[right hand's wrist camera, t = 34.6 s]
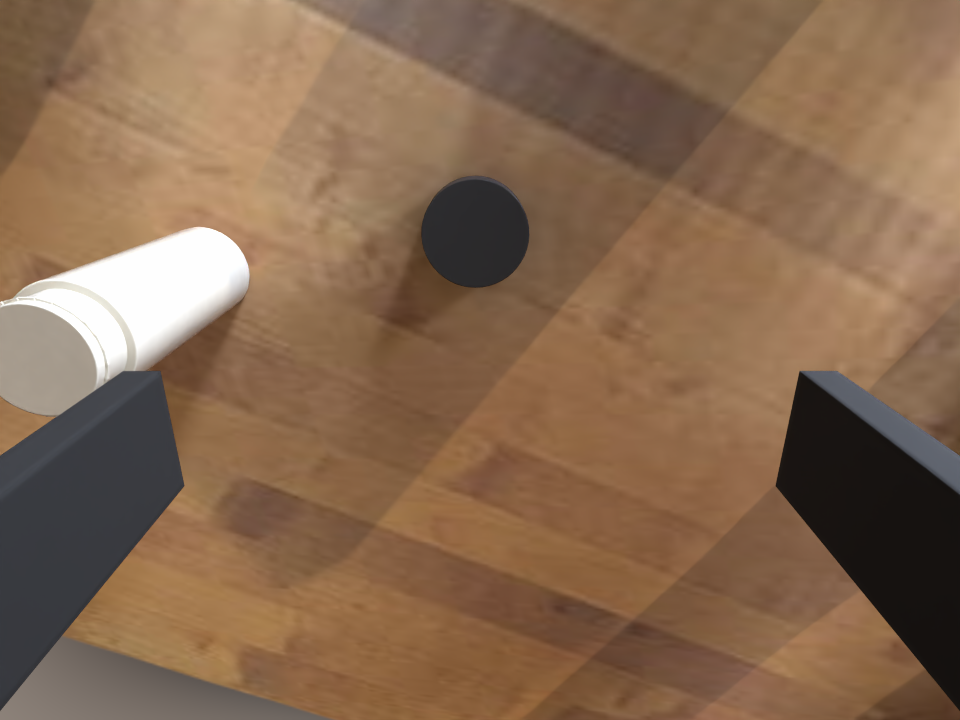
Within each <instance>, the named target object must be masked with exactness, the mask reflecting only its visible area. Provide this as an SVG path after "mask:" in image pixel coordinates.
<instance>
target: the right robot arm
mask: <svg viewBox="0 0 960 720" xmlns="http://www.w3.org/2000/svg"><path fill="white" fill-rule="evenodd" d="M183 487H184V482H183V477H182V472H181V467H180V462H179V458H178V453H177V448H176V443H175V439H174V434H173V429H172V424H171V419H170V415H169V410H168V405H167V400H166V395H165V391H164V386H163V381H162V376H161V372H160V371H122V372H121V373H120V374H118V375H117V376H115V377H114V378H112V379H111V380H109V381H108V382H106V383H105V384H104V385H102V386H101V387H99V388H98V389H96V390H95V391H93V392H92V393H91V394H89V395H88V396H86V397H85V398H83V399H82V400H80V401H79V402H77V403H76V404H75V405H73V406H72V407H70V408H69V409H67V410H66V411H64V412H63V413H62V414H60V415H59V416H57V417H56V418H54V419H53V420H51V421H50V422H48V423H47V424H46V425H44V426H43V427H41V428H40V429H38V430H37V431H35V432H34V433H33V434H31V435H30V436H28V437H27V438H25V439H24V440H22V441H21V442H19V443H18V444H17V445H15V446H14V447H12V448H11V449H9V450H8V451H6V452H5V453H4V454H2V455H1V456H0V710H1V709H2V708H3V707H4V706H5V704H6V703H7V702H8V701H9V699H10V698H11V697H12V696H13V695H14V693H15V692H16V691H17V690H18V688H19V687H20V686H21V685H22V684H23V682H24V681H25V680H26V679H27V677H28V676H29V675H30V674H31V673H32V671H33V670H34V669H35V668H36V666H37V665H38V664H39V663H40V662H41V660H42V659H43V658H44V657H45V655H46V654H47V653H48V652H49V651H50V649H51V648H52V647H53V646H54V644H55V643H56V642H57V641H58V640H59V638H60V637H61V636H62V635H63V634H64V632H65V631H66V630H67V629H68V627H69V626H70V625H71V624H72V623H73V621H74V620H75V619H76V618H77V616H78V615H79V614H80V613H81V612H82V610H83V609H84V608H85V607H86V605H87V604H88V603H89V602H90V601H91V599H92V598H93V597H94V596H95V594H96V593H97V592H98V591H99V590H100V588H101V587H102V586H103V585H104V583H105V582H106V581H107V580H108V579H109V577H110V576H111V575H112V574H113V572H114V571H115V570H116V569H117V568H118V566H119V565H120V564H121V563H122V561H123V560H124V559H125V558H126V557H127V555H128V554H129V553H130V552H131V550H132V549H133V548H134V547H135V546H136V544H137V543H138V542H139V541H140V539H141V538H142V537H143V536H144V535H145V533H146V532H147V531H148V530H149V528H150V527H151V526H152V525H153V524H154V522H155V521H156V520H157V519H158V518H159V516H160V515H161V514H162V513H163V511H164V510H165V509H166V508H167V507H168V505H169V504H170V503H171V502H172V500H173V499H174V498H175V497H176V496H177V494H178V493H179V492H180V491H181V489H182V488H183ZM776 487H777V488H778V489H779V491H780V492H781V493H782V494H783V496H784V497H785V498H786V499H787V500H788V502H789V503H790V504H791V505H792V507H793V508H794V509H795V510H796V511H797V513H798V514H799V515H800V516H801V518H802V519H803V520H804V521H805V522H806V524H807V525H808V526H809V527H810V528H811V530H812V531H813V532H814V533H815V535H816V536H817V537H818V538H819V539H820V541H821V542H822V543H823V544H824V546H825V547H826V548H827V549H828V550H829V552H830V553H831V554H832V555H833V557H834V558H835V559H836V560H837V561H838V563H839V564H840V565H841V566H842V568H843V569H844V570H845V571H846V572H847V574H848V575H849V576H850V577H851V579H852V580H853V581H854V582H855V583H856V585H857V586H858V587H859V588H860V590H861V591H862V592H863V593H864V594H865V596H866V597H867V598H868V599H869V601H870V602H871V603H872V604H873V605H874V607H875V608H876V609H877V610H878V612H879V613H880V614H881V615H882V616H883V618H884V619H885V620H886V621H887V623H888V624H889V625H890V626H891V627H892V629H893V630H894V631H895V632H896V634H897V635H898V636H899V637H900V638H901V640H902V641H903V642H904V643H905V645H906V646H907V647H908V648H909V649H910V651H911V652H912V653H913V654H914V656H915V657H916V658H917V659H918V660H919V662H920V663H921V664H922V665H923V666H924V668H925V669H926V670H927V671H928V673H929V674H930V675H931V676H932V677H933V679H934V680H935V681H936V682H937V684H938V685H939V686H940V687H941V688H942V690H943V691H944V692H945V693H946V695H947V696H948V697H949V698H950V699H951V701H952V702H953V703H954V704H955V706H956V707H957V708H958V709H959V710H960V456H959V455H958V454H956V453H955V452H954V451H952V450H951V449H949V448H948V447H946V446H945V445H943V444H942V443H941V442H939V441H938V440H936V439H935V438H933V437H932V436H930V435H929V434H927V433H926V432H925V431H923V430H922V429H920V428H919V427H917V426H916V425H914V424H913V423H912V422H910V421H909V420H907V419H906V418H904V417H903V416H901V415H900V414H898V413H897V412H896V411H894V410H893V409H891V408H890V407H888V406H887V405H885V404H884V403H883V402H881V401H880V400H878V399H877V398H875V397H874V396H872V395H871V394H869V393H868V392H867V391H865V390H864V389H862V388H861V387H859V386H858V385H856V384H855V383H854V382H852V381H851V380H849V379H848V378H846V377H845V376H843V375H842V374H840V373H839V372H838V371H800V372H799V376H798V381H797V386H796V391H795V395H794V400H793V405H792V410H791V415H790V419H789V424H788V429H787V434H786V439H785V443H784V448H783V453H782V458H781V462H780V467H779V472H778V477H777V482H776Z"/></svg>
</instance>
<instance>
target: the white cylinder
mask: <svg viewBox="0 0 960 720" xmlns="http://www.w3.org/2000/svg"><path fill="white" fill-rule="evenodd" d="M248 285H249V269H248V265H247V262H246V259H245V257H244V255H243V253H242V252H241V250H240V249H239V248H238V246H237V245H236V244H235V243H234V242H233V241H232V240H231V239H229V238H228V237H227V236H225V235H223V234H222V233H220V232H218V231H215V230H212V229H209V228H203V227H193V228H188V229H184V230H182V231H179V232H176V233H173V234H170V235H168V236H165V237H162V238H159V239H156V240H153V241H151V242H148V243H145V244H142V245H139V246H136V247H134V248H131V249H128V250H125V251H122V252H119V253H117V254H114V255H111V256H108V257H105V258H103V259H100V260H97V261H94V262H91V263H88V264H86V265H83V266H80V267H77V268H74V269H71V270H69V271H66V272H63V273H60V274H57V275H55V276H52V277H49V278H46V279H43V280H40V281H38V282H35V283H32V284H30V285H28V286H26V287H24V288H23V289H22V290H21V291H19V292H18V293H17V294H16V296H15V297H14V298H13V299H9V300H5V301H2V302H0V396H1V397H2V398H3V399H4V400H6V401H7V402H9V403H10V404H12V405H14V406H16V407H18V408H20V409H22V410H25V411H27V412H30V413H34V414H39V415H43V416H46V417H57V416H59V415H60V414H62V413H63V412H64V411H66V410H67V409H69V408H70V407H72V406H73V405H75V404H76V403H77V402H79V401H80V400H82V399H83V398H85V397H86V396H88V395H89V394H91V393H92V392H93V391H95V390H96V389H98V388H99V387H101V386H102V385H104V384H105V383H106V382H108V381H109V380H111V379H112V378H114V377H115V376H117V375H118V374H120V373H121V372H122V371H148V370H149V369H151V368H152V367H153V366H155V365H156V364H157V363H159V362H160V361H161V360H163V359H164V358H166V357H167V356H168V355H170V354H171V353H172V352H174V351H175V350H176V349H178V348H179V347H180V346H182V345H183V344H184V343H186V342H187V341H189V340H190V339H191V338H193V337H194V336H195V335H197V334H198V333H199V332H201V331H202V330H203V329H205V328H206V327H207V326H209V325H210V324H212V323H213V322H214V321H216V320H217V319H218V318H220V317H221V316H222V315H224V314H225V313H226V312H228V311H229V310H230V309H232V308H233V307H234V306H236V305H237V304H238V303H239V302H240V301H241V300H242V299H243V297H244V296H245V294H246V292H247V289H248Z"/></svg>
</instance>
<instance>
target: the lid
mask: <svg viewBox="0 0 960 720" xmlns="http://www.w3.org/2000/svg"><path fill="white" fill-rule="evenodd" d="M528 242H529V225H528V220H527V217H526V214H525V212H524V209H523V207H522V205H521V203H520V202H519V200H518V198H517V197H516V196H515V194H514V193H513V192H512V191H511V190H510V189H509V188H508V187H506V186H505V185H504V184H502V183H500V182H498V181H497V180H494V179H491V178H488V177H483V176H468V177H463V178H460V179H457V180H454V181H452V182H451V183H449V184H447V185H446V186H445V187H443V188H442V189H441V190H440V191H439V192H438V193H437V194H436V196H435V197H434V198H433V200H432V202H431V203H430V205H429V206H428V208H427V211H426V213H425V215H424V219H423V223H422V243H423V248H424V251H425V254H426V256H427V258H428V260H429V262H430V263H431V265H432V266H433V267H434V268H435V270H436V271H437V272H438V273H439V274H441V275H442V276H443V277H444V278H446V279H447V280H449V281H451V282H453V283H455V284H458V285H461V286H465V287H475V288H476V287H486V286H490V285H493V284H496V283H498V282H500V281H502V280H504V279H505V278H507V277H508V276H509V275H510V274H512V273H513V272H514V270H515V269H516V268H517V267H518V266H519V264H520V263H521V261H522V259H523V257H524V256H525V253H526V250H527V246H528Z"/></svg>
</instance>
